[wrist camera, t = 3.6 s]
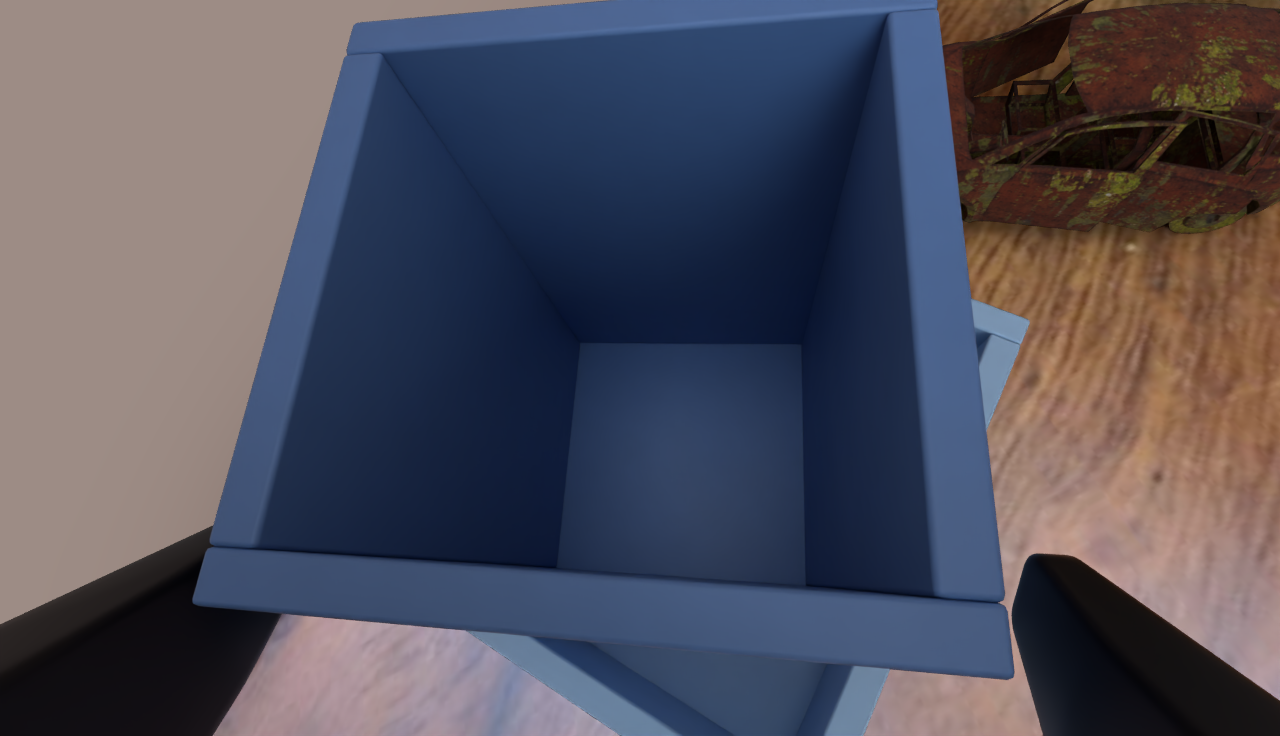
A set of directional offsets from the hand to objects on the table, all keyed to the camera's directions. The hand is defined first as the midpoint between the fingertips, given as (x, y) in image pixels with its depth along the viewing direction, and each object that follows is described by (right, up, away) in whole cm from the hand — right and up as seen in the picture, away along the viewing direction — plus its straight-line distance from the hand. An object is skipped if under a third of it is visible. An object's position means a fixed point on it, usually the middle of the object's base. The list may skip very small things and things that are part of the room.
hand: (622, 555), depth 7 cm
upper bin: (+1, 0, +8) cm, 8 cm away
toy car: (+13, +9, +13) cm, 20 cm away
